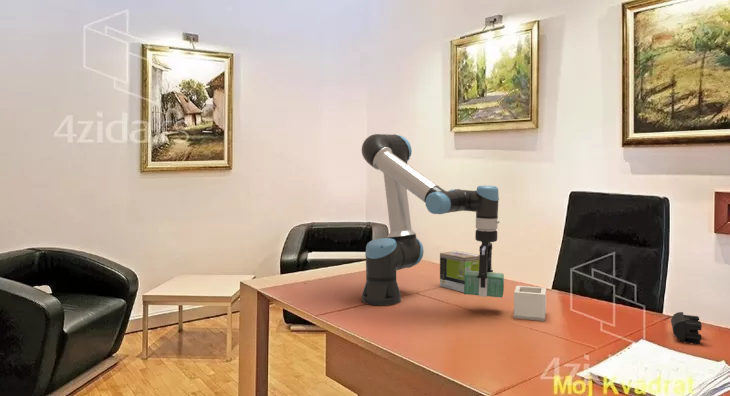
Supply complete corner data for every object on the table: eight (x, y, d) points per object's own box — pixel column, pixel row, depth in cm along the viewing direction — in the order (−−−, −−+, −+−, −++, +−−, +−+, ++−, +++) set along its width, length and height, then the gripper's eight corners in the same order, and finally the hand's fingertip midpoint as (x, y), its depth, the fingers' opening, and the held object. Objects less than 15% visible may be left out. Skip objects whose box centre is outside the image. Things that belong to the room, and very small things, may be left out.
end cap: (670, 332, 164) (671, 310, 164) (697, 335, 161) (698, 313, 160) (672, 342, 155) (673, 319, 155) (700, 345, 152) (701, 322, 151)
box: (503, 298, 182) (503, 276, 182) (463, 295, 186) (464, 274, 185) (503, 292, 189) (504, 272, 189) (465, 290, 193) (465, 269, 192)
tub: (513, 318, 179) (514, 292, 179) (516, 310, 189) (516, 285, 188) (544, 321, 176) (545, 294, 175) (545, 312, 185) (546, 287, 184)
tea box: (481, 290, 218) (481, 254, 217) (464, 293, 213) (464, 257, 212) (456, 283, 231) (456, 249, 230) (439, 286, 225) (439, 252, 224)
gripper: (493, 234, 174) (491, 302, 177) (500, 226, 194) (498, 287, 196) (470, 233, 177) (469, 299, 179) (480, 225, 196) (478, 285, 198)
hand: (484, 293), depth 187 cm, fingers closed on box, 8 cm apart
